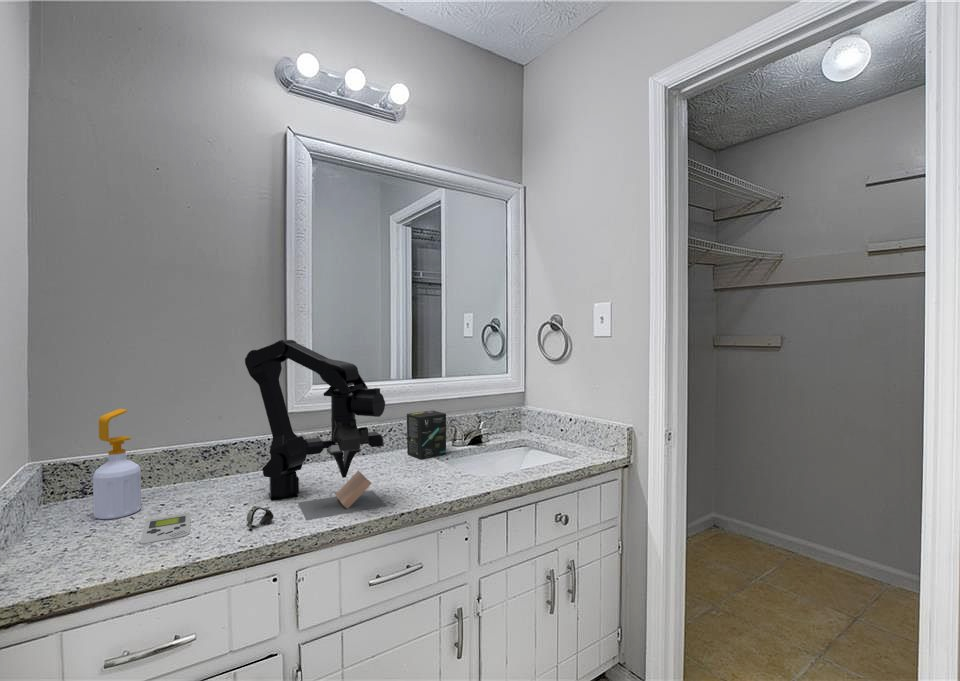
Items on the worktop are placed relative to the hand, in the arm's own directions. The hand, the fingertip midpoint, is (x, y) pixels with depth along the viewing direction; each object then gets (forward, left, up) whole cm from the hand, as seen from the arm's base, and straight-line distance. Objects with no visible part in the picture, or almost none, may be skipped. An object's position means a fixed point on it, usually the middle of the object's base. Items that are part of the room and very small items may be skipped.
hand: (343, 477), depth 121 cm
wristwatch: (-20, -4, -7) cm, 21 cm away
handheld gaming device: (-38, +5, -8) cm, 39 cm away
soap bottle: (-49, +21, -7) cm, 53 cm away
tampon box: (+37, +36, -7) cm, 52 cm away
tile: (-1, 0, -6) cm, 6 cm away
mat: (-1, 0, -7) cm, 7 cm away
